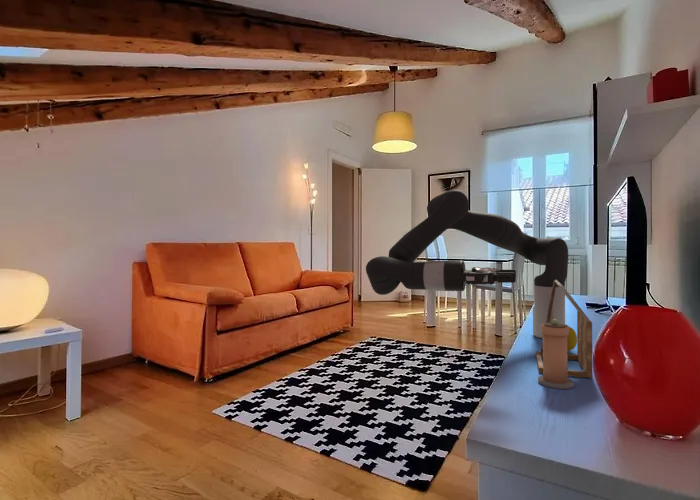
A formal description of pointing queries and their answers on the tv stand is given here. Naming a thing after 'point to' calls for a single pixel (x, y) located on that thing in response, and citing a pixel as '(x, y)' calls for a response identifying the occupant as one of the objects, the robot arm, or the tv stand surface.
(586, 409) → the tv stand surface
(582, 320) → the cold frame
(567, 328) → the pot
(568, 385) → the grey-brown flat disc
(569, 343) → the lemon
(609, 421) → the tv stand surface
